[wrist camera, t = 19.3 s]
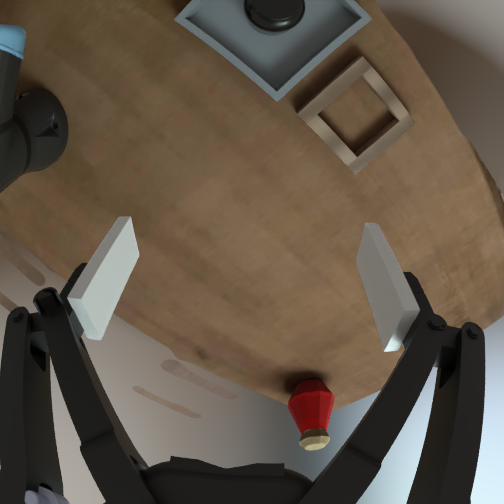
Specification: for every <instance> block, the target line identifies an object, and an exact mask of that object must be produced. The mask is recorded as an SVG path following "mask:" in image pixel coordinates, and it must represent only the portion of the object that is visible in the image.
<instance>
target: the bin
mask: <svg viewBox="0 0 504 504" xmlns="http://www.w3.org/2000/svg"><path fill="white" fill-rule="evenodd" d="M304 1H305V13H304V16H303V18H302V20H301V21H300V22H299V23H298V24H297V25H296V26H295V27H293V28H292V29H290V30H289V31H287V32H286V33H283V34H281V35H275V36H269V35H264V34H261V33H259V32H257V31H255V30H254V29H253V28H252V27H251V26H250V25H249V23H248V21H247V19H246V16H245V12H244V7H243V4H244V0H192V1H191V2H190V3H189V4H188V5H187V6H186V7H185V8H184V9H183V10H182V11H181V12H180V13H179V15H178V16H177V17H176V18H175V19H174V20H175V21H176V22H178V23H179V24H181V25H182V26H184V27H185V28H186V29H188V30H189V31H191V32H192V33H193V34H195V35H196V36H197V37H199V38H200V39H202V40H203V41H204V42H206V43H207V44H208V45H210V46H211V47H212V48H213V49H215V50H216V51H217V52H219V53H220V54H221V55H222V56H224V57H225V58H226V59H227V60H229V61H230V62H231V63H232V64H234V65H235V66H236V67H237V68H239V69H240V70H241V71H242V72H243V73H245V74H246V75H247V76H248V77H249V78H250V79H252V80H253V81H254V82H255V83H256V84H257V85H259V86H260V87H261V88H262V89H263V90H264V91H265V92H267V93H268V94H269V95H270V96H271V97H272V98H273V99H274V100H275V101H277V102H278V101H279V100H280V99H281V98H282V97H283V96H284V95H285V94H286V93H287V92H288V91H289V90H290V89H291V88H292V87H293V86H295V85H296V84H297V83H298V82H299V81H300V80H301V79H302V78H303V77H304V76H305V75H307V74H308V73H309V72H310V71H311V70H312V69H313V68H314V67H316V66H317V65H318V64H319V63H320V62H321V61H322V60H323V59H325V58H326V57H327V56H328V55H329V54H330V53H332V52H333V51H334V50H335V49H336V48H337V47H339V46H340V45H341V44H342V43H343V42H345V41H346V40H347V39H348V38H349V37H351V36H352V35H353V34H354V33H356V32H357V31H358V30H359V29H360V28H362V27H363V26H364V25H365V24H367V23H368V22H369V21H371V20H372V18H371V17H370V16H369V15H368V14H367V13H366V12H365V11H364V10H363V9H362V8H361V7H360V6H359V5H358V4H357V3H356V2H355V1H354V0H304Z"/></svg>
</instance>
